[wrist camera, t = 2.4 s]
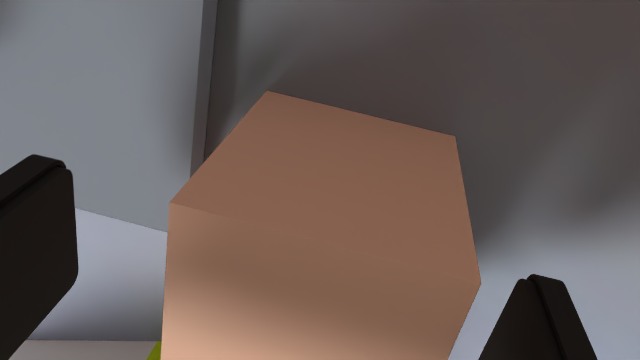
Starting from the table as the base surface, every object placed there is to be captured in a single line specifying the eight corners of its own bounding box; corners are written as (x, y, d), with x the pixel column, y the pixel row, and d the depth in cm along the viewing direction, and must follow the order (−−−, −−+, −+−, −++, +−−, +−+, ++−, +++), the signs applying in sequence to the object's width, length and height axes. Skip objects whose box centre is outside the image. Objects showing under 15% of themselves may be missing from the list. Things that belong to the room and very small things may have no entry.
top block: (454, 135, 13) (481, 282, 8) (403, 284, 15) (396, 474, 10) (267, 89, 13) (169, 202, 8) (244, 242, 16) (158, 406, 10)
